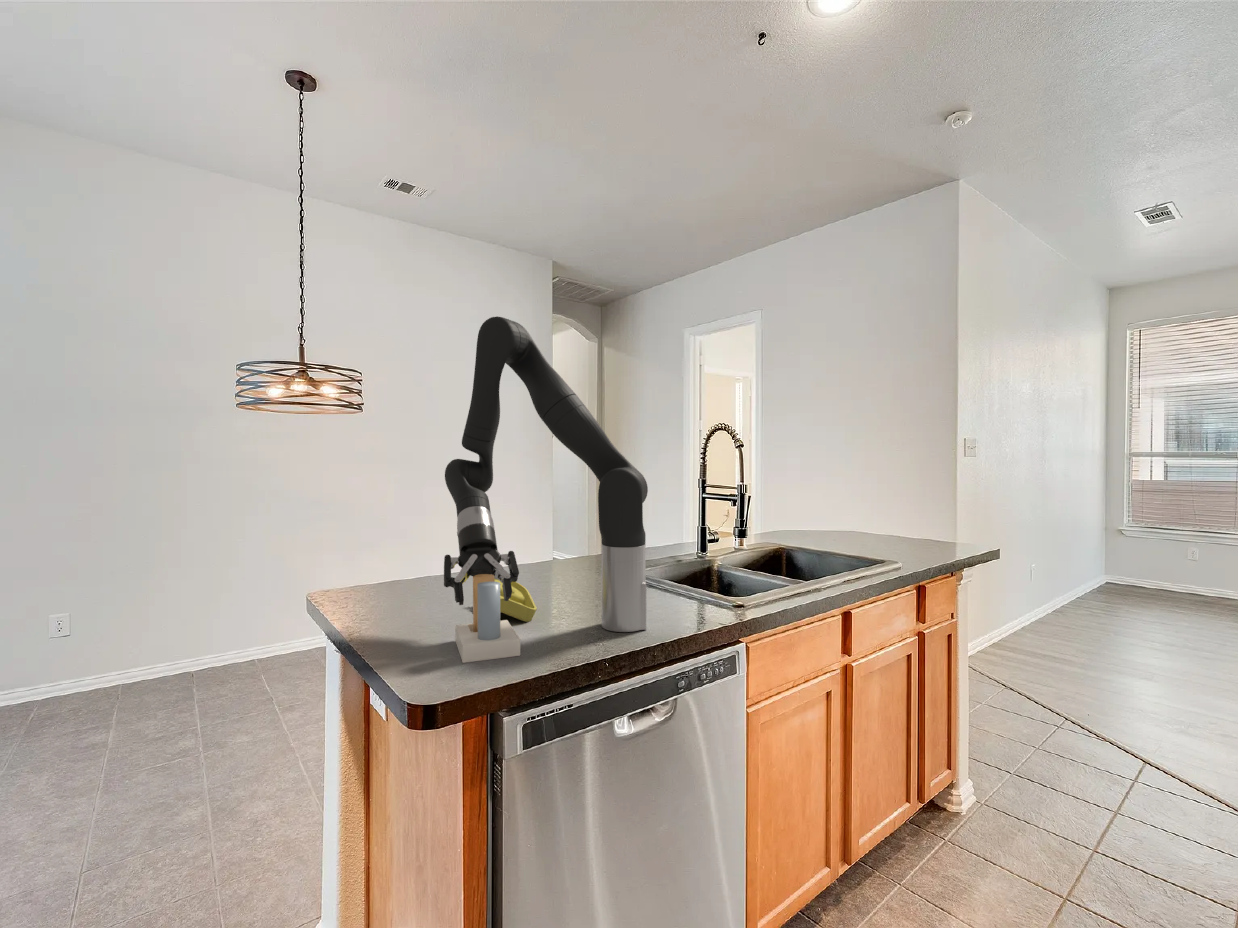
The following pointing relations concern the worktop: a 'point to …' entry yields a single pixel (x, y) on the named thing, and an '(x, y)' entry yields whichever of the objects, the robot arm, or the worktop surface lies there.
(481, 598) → the housing
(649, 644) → the worktop surface
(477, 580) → the tan round-top capsule
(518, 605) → the plastic component
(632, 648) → the worktop surface
